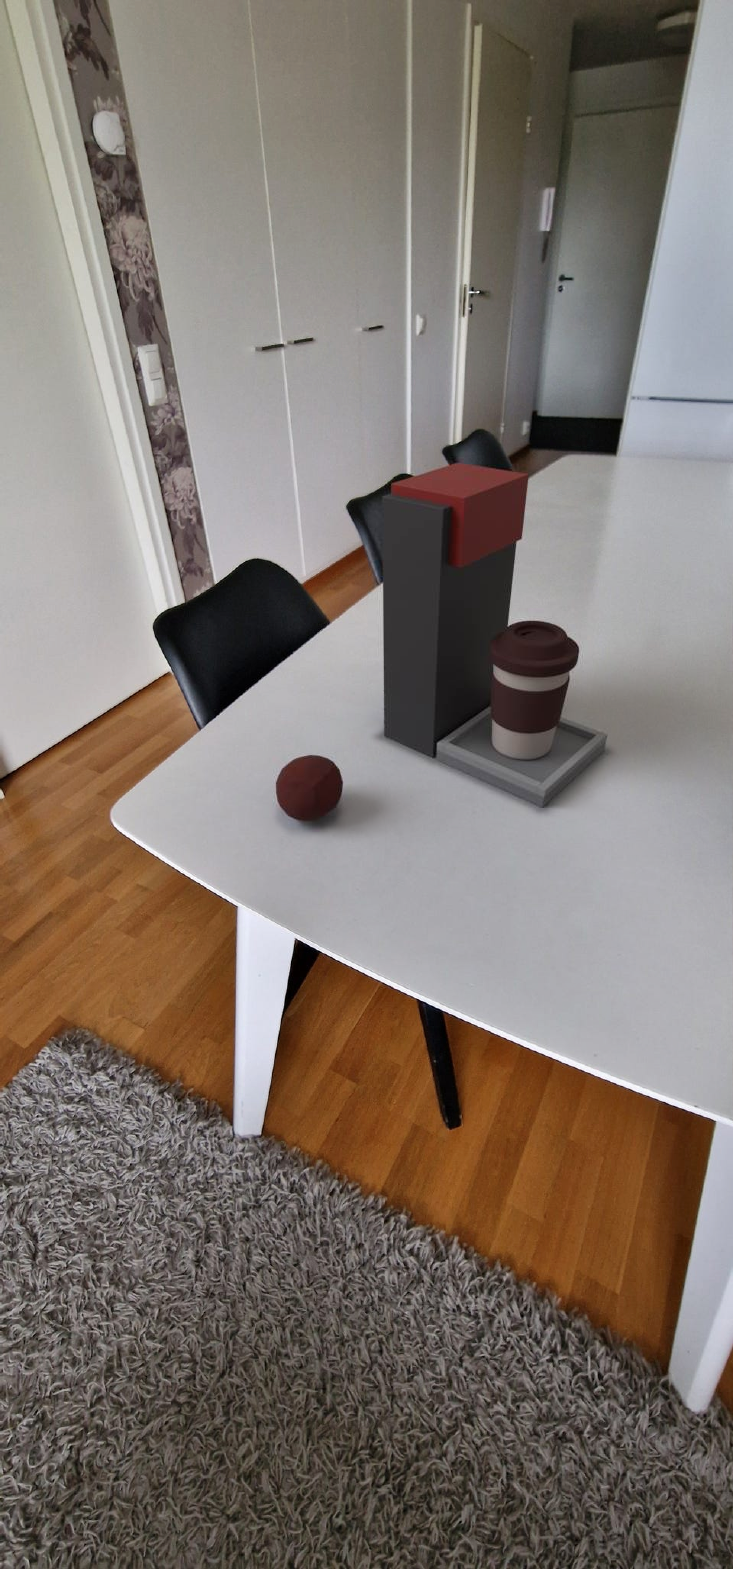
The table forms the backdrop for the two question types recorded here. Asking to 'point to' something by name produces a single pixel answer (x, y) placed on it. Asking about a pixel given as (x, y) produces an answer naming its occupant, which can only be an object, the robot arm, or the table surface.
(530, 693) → the coffee cup
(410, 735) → the coffee machine
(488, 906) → the table surface
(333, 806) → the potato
